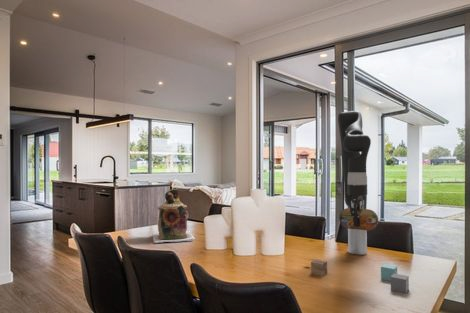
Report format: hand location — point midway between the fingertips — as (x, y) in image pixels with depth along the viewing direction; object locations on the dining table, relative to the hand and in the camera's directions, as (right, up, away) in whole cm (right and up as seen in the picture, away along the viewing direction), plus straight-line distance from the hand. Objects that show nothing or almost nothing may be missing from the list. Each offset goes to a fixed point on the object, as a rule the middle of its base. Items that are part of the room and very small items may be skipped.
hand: (357, 225), depth 134 cm
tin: (0, -1, 0) cm, 1 cm away
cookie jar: (-89, -24, +73) cm, 118 cm away
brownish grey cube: (-14, -21, +5) cm, 26 cm away
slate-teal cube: (+12, -21, -1) cm, 24 cm away
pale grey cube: (+10, -21, -14) cm, 27 cm away
